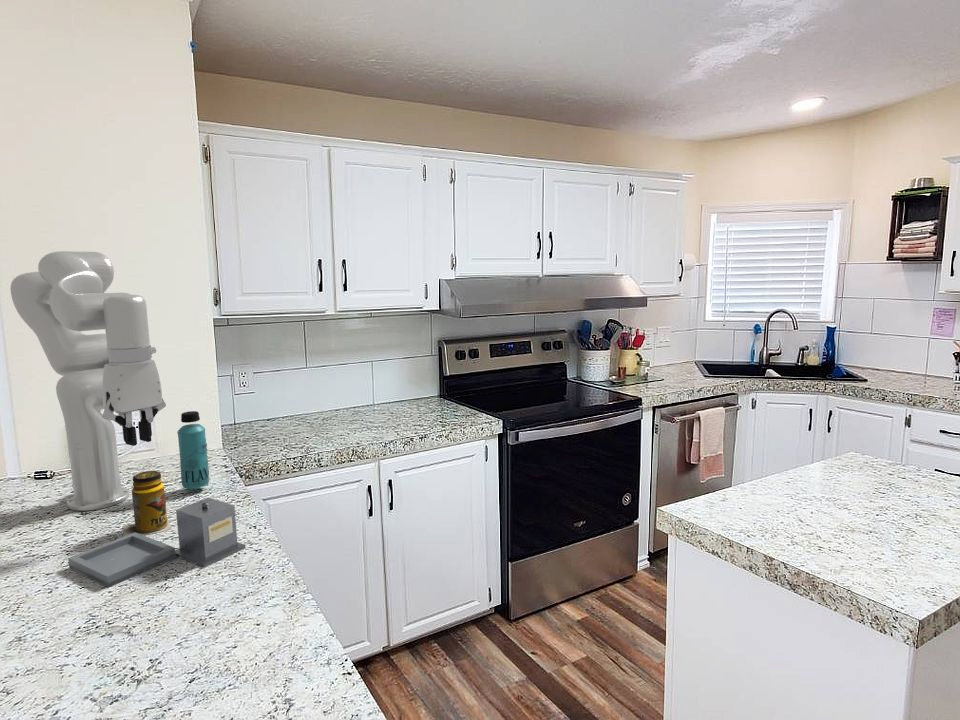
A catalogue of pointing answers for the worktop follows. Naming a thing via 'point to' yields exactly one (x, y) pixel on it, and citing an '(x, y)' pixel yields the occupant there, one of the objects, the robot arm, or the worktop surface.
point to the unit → (207, 532)
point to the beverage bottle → (193, 452)
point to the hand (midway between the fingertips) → (138, 442)
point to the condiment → (148, 505)
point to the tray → (121, 559)
